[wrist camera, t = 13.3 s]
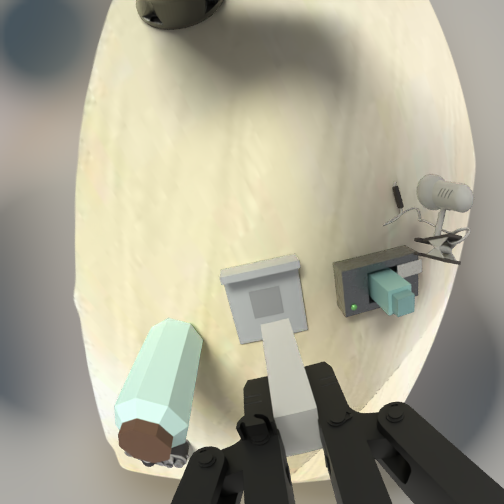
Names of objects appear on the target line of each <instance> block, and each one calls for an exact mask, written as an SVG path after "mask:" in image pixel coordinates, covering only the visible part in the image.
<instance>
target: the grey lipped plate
mask: <svg viewBox="0 0 504 504" xmlns="http://www.w3.org/2000/svg"><path fill="white" fill-rule="evenodd" d="M298 268H300V262H299V259H298V258H297V256H296V255H295V254H291V255H286V256H282V257H277V258H272V259H268V260H263V261H259V262H254V263H250V264H245V265H240V266H236V267H231V268H226V269H222V270H221V272H220V281H221V285H224V286H225V289H226V293H227V297H228V301H229V304H230V308H231V312H232V315H233V319H234V323H235V326H236V330H237V333H238V337H239V340H240V344H244V343H249V342H254V341H259V340H263V339H262V332H261V325H262V324H267V323H271V322H275V321H279V320H283V319H287V318H289V321H290V324H291V327H292V330H293V333H296V332H300V331H304V330H308V328H307V322H306V315H305V309H304V302H303V296H302V290H301V284H300V278H299V272H298Z"/></svg>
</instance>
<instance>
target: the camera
mask: <svg viewBox="0 0 504 504" xmlns="http://www.w3.org/2000/svg"><path fill="white" fill-rule="evenodd" d="M188 449H189V441H188V440H187V439H186V441H185V443H183V444H181V445H178V446H175V447H173V448H172V449H171V454H170V459H169V460H166V461H162V462H157V463H151V462H148V461H144V460H141V461H142V462H143V464H144V465H145V466H148V467H151V466H153V465H154V464H157V465H161V466H167V467H168V468H172V467H173V464H174V466H175V467H178V468H182V467H183V465H184V464H186V462H187V458H188V457H189V456H188ZM125 454H126V455H127V456H130V457H132V456H131V455H130V454H128V453H127V452H126V451H125ZM138 460H140V459H138Z"/></svg>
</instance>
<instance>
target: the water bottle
mask: <svg viewBox="0 0 504 504" xmlns="http://www.w3.org/2000/svg"><path fill="white" fill-rule="evenodd" d="M202 343H203V339H202V338H201V337H200V335H199V334H198V333H197V332H196V330H195V329H194V328H193V326H192V325H191V324H190V323H187V322H183V321H178V320H174V319H170V318H167V319H165V320H164V321H162V322H160V323H158V324H156V325H155V326H153V327H151V329H150V331H149V333H148V335H147V337H146V339H145V341H144V343H143V345H142V348H141V350H140V352H139V354H138V356H137V358H136V360H135V362H134V364H133V366H132V369H131V371H130V373H129V375H128V377H127V379H126V381H125V384H124V386H123V388H122V390H121V392H120V395H119V397H118V399H117V401H116V404H115V406H114V407H115V423H116V426H117V427H118V429H119V430H120V431H119V434H118V438H119V446H120V447H121V448H122V449H123V450H125V451H126V452H127V453H128V454H130V455H131V456H132V457H134V458H137V459H140V460H144V461H148V462H151V463H157V462H162V461H166V460H169V459H170V454H171V449H172V448H173V447H175V446H178V445H181V444H183V443H185V441H186V436H187V431H188V426H189V420H190V414H191V407H192V401H193V395H194V389H195V383H196V377H197V371H198V366H199V360H200V354H201V349H202Z"/></svg>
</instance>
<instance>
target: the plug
mask: <svg viewBox="0 0 504 504" xmlns="http://www.w3.org/2000/svg"><path fill="white" fill-rule="evenodd" d="M367 276H368V292H369V296H370V297H371V298H372V299H373V300H374V301H375V302H376V303H377V304H378V305H379V306H380V307H381V308H382V309H383V310H384V311H385V312H386V313H387V315H388V316H389V315H392V314H395V315H396V316H397V317H400V316H403V315H406V314H409V313H412V312H414V304H415V294H414V293H412V292H411V284H410V283H409V282H408V281H406V280H405V279H404V278H402V277H401V276H400V275H398V274H397V273H395V272H394V271H393V270H391V269H390V268H389V267H388V268H384V269H381V270H377V271H373V272H369V273H367Z"/></svg>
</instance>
